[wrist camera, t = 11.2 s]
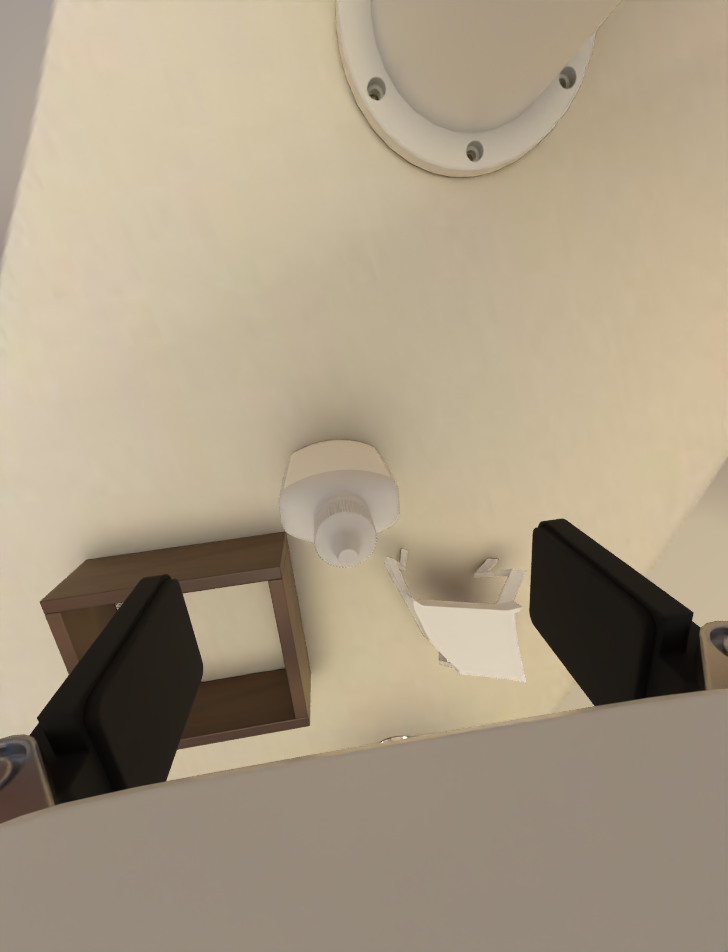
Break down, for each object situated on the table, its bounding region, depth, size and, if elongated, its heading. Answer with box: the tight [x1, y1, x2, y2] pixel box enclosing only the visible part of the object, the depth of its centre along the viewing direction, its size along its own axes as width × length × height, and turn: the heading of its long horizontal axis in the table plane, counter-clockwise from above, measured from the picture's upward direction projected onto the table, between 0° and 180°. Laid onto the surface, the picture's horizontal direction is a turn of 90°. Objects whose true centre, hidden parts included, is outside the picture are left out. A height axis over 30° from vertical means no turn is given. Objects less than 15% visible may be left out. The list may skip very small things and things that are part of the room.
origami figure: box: [384, 549, 527, 684], centre depth 27 cm, size 12×8×5 cm
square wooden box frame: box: [40, 532, 311, 750], centre depth 25 cm, size 12×13×4 cm
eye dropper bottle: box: [279, 440, 400, 568], centre depth 20 cm, size 4×6×12 cm
